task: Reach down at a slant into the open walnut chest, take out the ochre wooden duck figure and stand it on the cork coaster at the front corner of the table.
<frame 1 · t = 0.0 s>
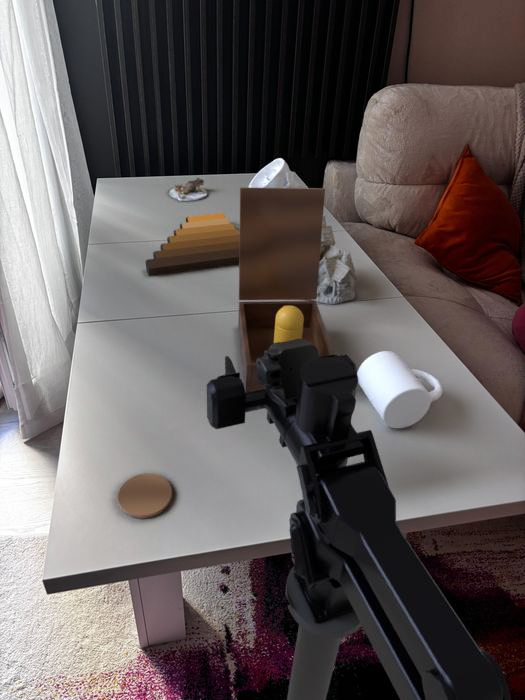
hand: (259, 352, 74), 16 cm above the table, tool horizontal, fingers open, 9 cm apart
pan flute: (189, 247, 135), on the table
frog figurine: (188, 194, 165), on the table
mug: (398, 406, 90), on the table
skull bowl: (274, 198, 166), on the table
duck: (285, 369, 95), point 1 cm above the table, touching chest
ceramic cottage: (313, 288, 121), on the table
coaster: (145, 496, 73), on the table
chest lid: (278, 243, 100), point 16 cm above the table, hinge at 100.0°
chest: (282, 359, 99), on the table
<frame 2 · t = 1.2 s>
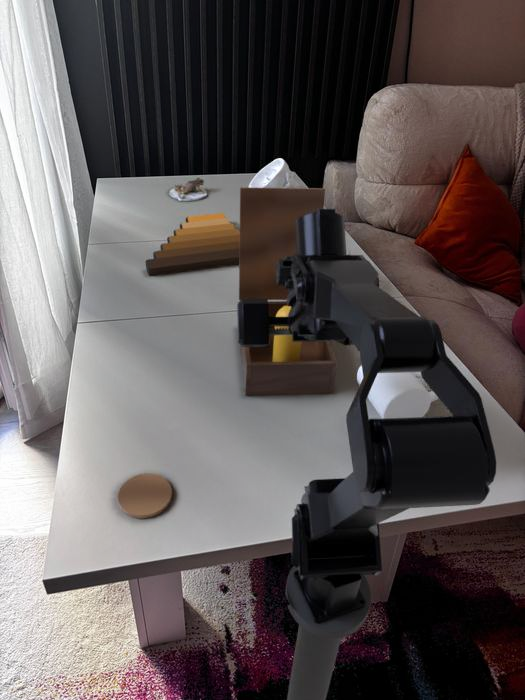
hand: (297, 333, 82), 14 cm above the table, tool tilted 45°, fingers open, 9 cm apart
nothing on the table moved.
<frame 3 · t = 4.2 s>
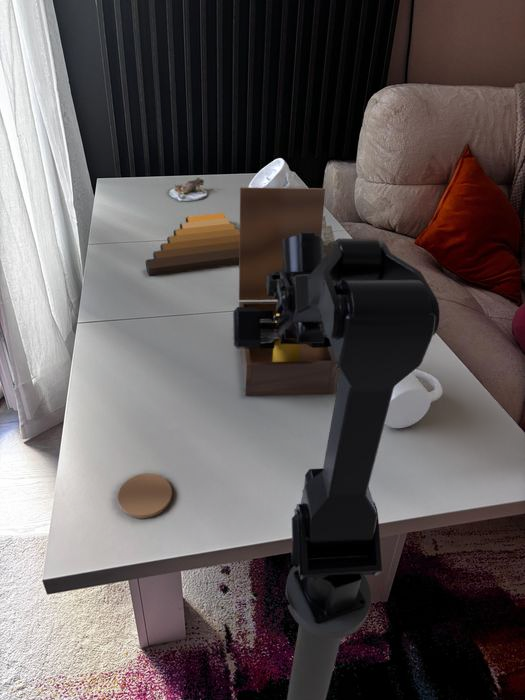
hand: (286, 337, 93), 7 cm above the table, tool tilted 45°, fingers closed on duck, 4 cm apart
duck: (285, 369, 95), point 1 cm above the table, touching chest, gripper
everything else where it was.
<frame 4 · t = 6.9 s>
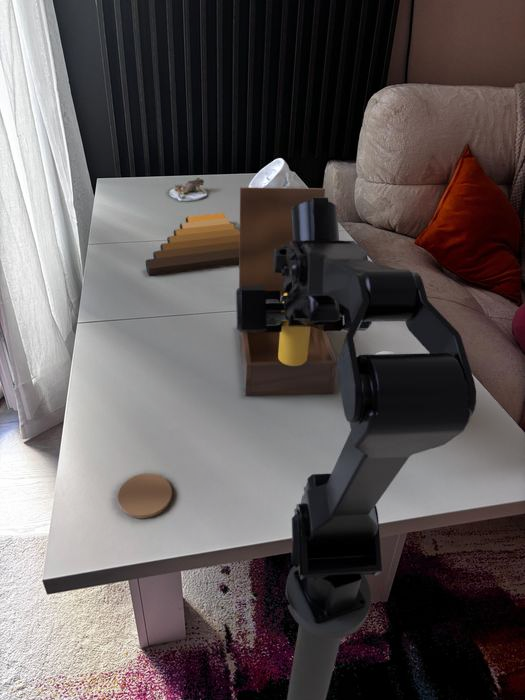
hand: (294, 321, 85), 13 cm above the table, tool tilted 45°, fingers closed on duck, 4 cm apart
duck: (292, 357, 87), point 7 cm above the table, touching gripper
everything else where it was.
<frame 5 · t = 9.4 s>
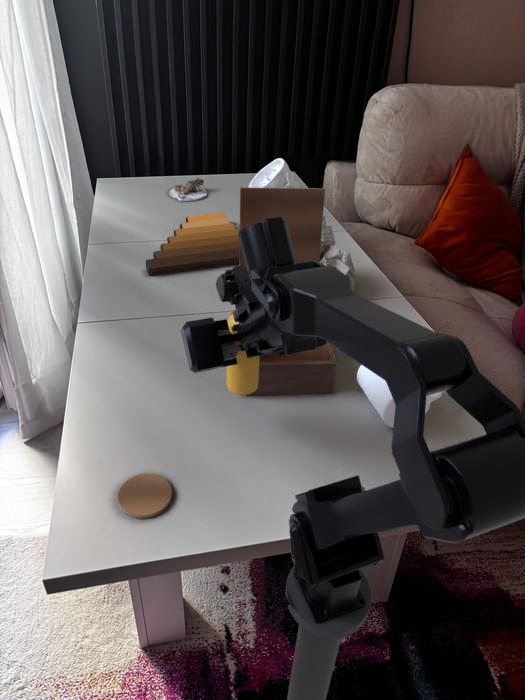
hand: (240, 347, 78), 14 cm above the table, tool tilted 45°, fingers closed on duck, 4 cm apart
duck: (242, 384, 81), point 8 cm above the table, touching gripper
everything else where it was.
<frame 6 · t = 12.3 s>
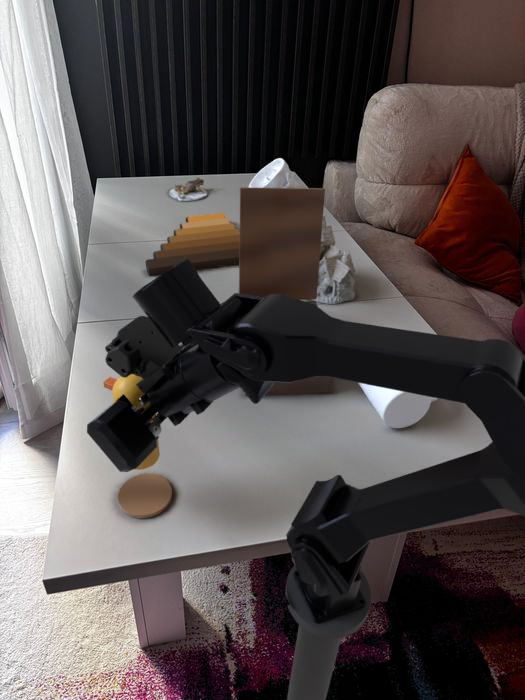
hand: (127, 417, 66), 13 cm above the table, tool tilted 45°, fingers closed on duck, 4 cm apart
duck: (140, 455, 68), point 8 cm above the table, touching gripper
everything else where it was.
when the fingers open (6 cm above the table, at t = 14.7 s): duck stays where it is, resting on coaster.
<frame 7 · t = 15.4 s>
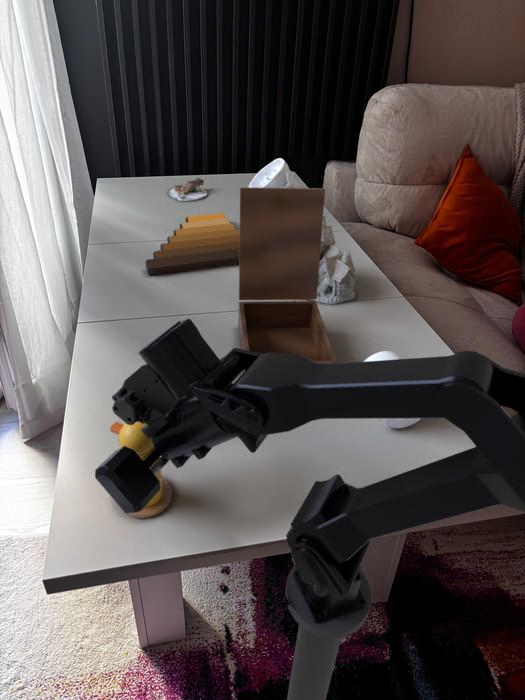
hand: (131, 455, 69), 7 cm above the table, tool tilted 45°, fingers open, 9 cm apart
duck: (144, 493, 73), point 1 cm above the table, touching coaster
everything else where it was.
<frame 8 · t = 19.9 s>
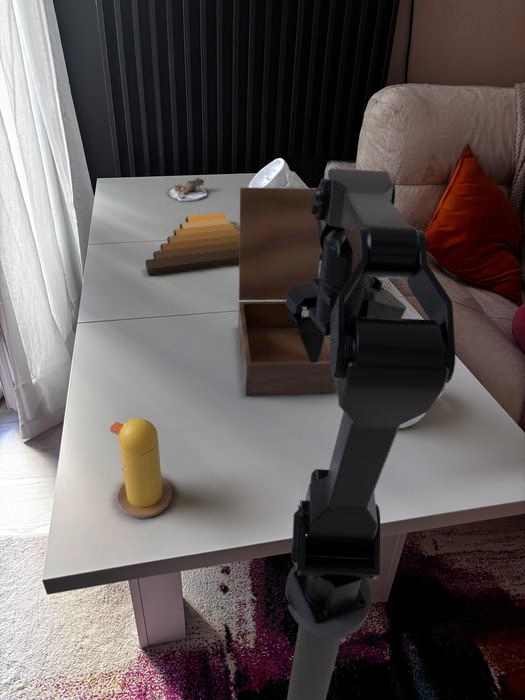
hand: (328, 381, 74), 13 cm above the table, tool pointing down, fingers open, 9 cm apart
nothing on the table moved.
at the end: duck 0.0 cm off-centre on the coaster, point 0.6 cm above the coaster's base; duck tilted 0° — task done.
